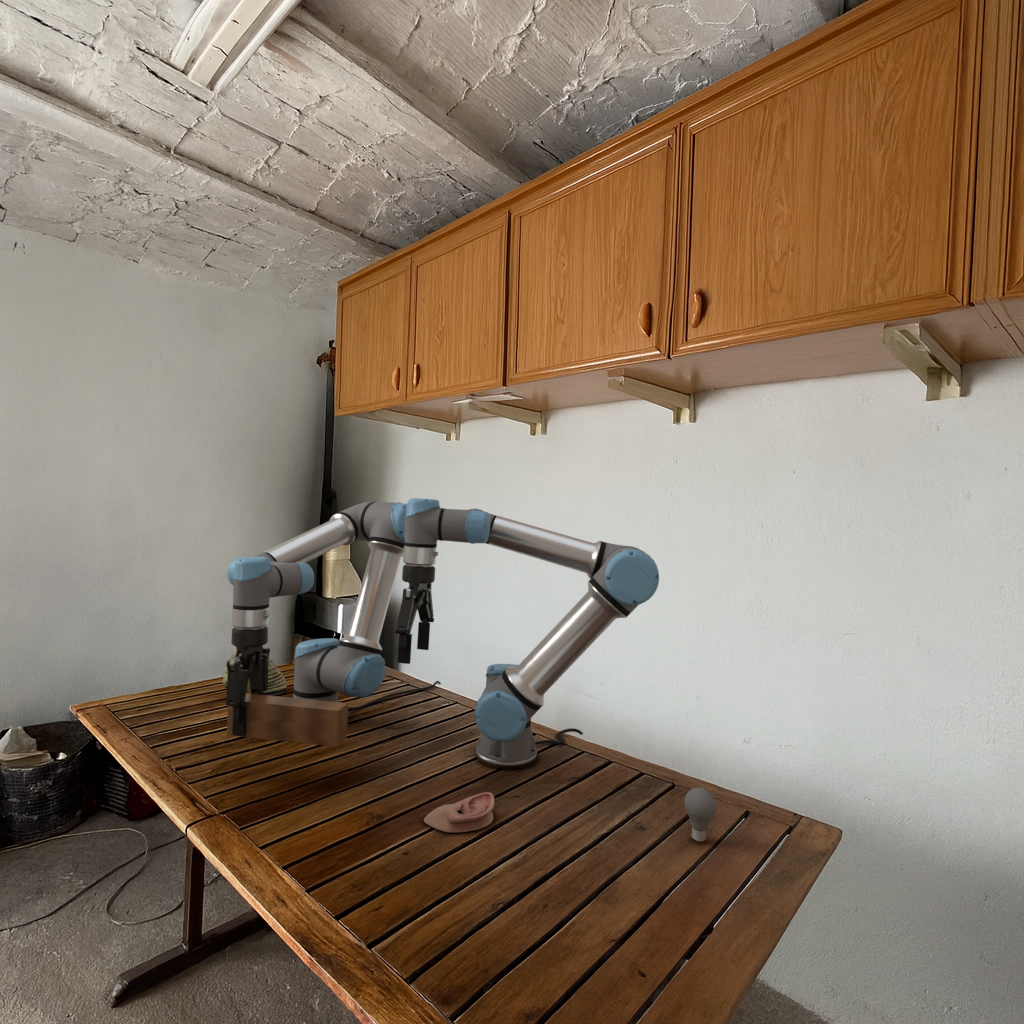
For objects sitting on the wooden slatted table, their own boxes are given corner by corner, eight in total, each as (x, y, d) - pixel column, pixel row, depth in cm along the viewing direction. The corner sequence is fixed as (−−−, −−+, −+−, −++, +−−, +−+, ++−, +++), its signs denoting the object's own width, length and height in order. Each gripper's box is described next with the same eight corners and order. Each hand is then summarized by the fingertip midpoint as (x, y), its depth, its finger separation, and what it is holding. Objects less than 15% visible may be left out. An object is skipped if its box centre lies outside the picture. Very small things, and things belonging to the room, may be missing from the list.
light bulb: (678, 831, 125) (680, 781, 125) (707, 831, 126) (709, 782, 126) (689, 848, 119) (691, 796, 119) (719, 848, 120) (722, 796, 120)
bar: (226, 735, 139) (227, 699, 139) (240, 727, 144) (241, 692, 144) (337, 747, 135) (338, 710, 135) (347, 738, 141) (348, 703, 140)
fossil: (218, 695, 195) (220, 647, 195) (278, 685, 208) (279, 640, 207) (228, 703, 189) (230, 653, 188) (289, 692, 201) (290, 645, 201)
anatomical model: (419, 808, 122) (437, 782, 134) (418, 828, 122) (437, 801, 134) (485, 817, 120) (499, 791, 131) (484, 838, 120) (498, 810, 131)
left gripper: (242, 636, 131) (238, 747, 132) (286, 620, 149) (283, 718, 150) (209, 633, 132) (205, 743, 133) (257, 618, 151) (253, 715, 151)
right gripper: (417, 571, 134) (411, 671, 134) (449, 561, 158) (444, 645, 159) (384, 568, 135) (378, 667, 135) (420, 559, 160) (415, 642, 160)
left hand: (246, 729), depth 141 cm, fingers closed on bar, 5 cm apart
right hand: (413, 656), depth 147 cm, fingers open, 13 cm apart
